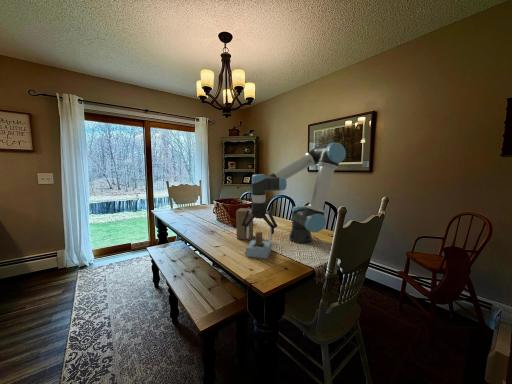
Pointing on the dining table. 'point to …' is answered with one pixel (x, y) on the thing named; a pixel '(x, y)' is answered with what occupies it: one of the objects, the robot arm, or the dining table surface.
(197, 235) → the dining table surface
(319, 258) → the dining table surface
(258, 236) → the walnut peg
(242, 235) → the wooden block
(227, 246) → the dining table surface
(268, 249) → the socket block
